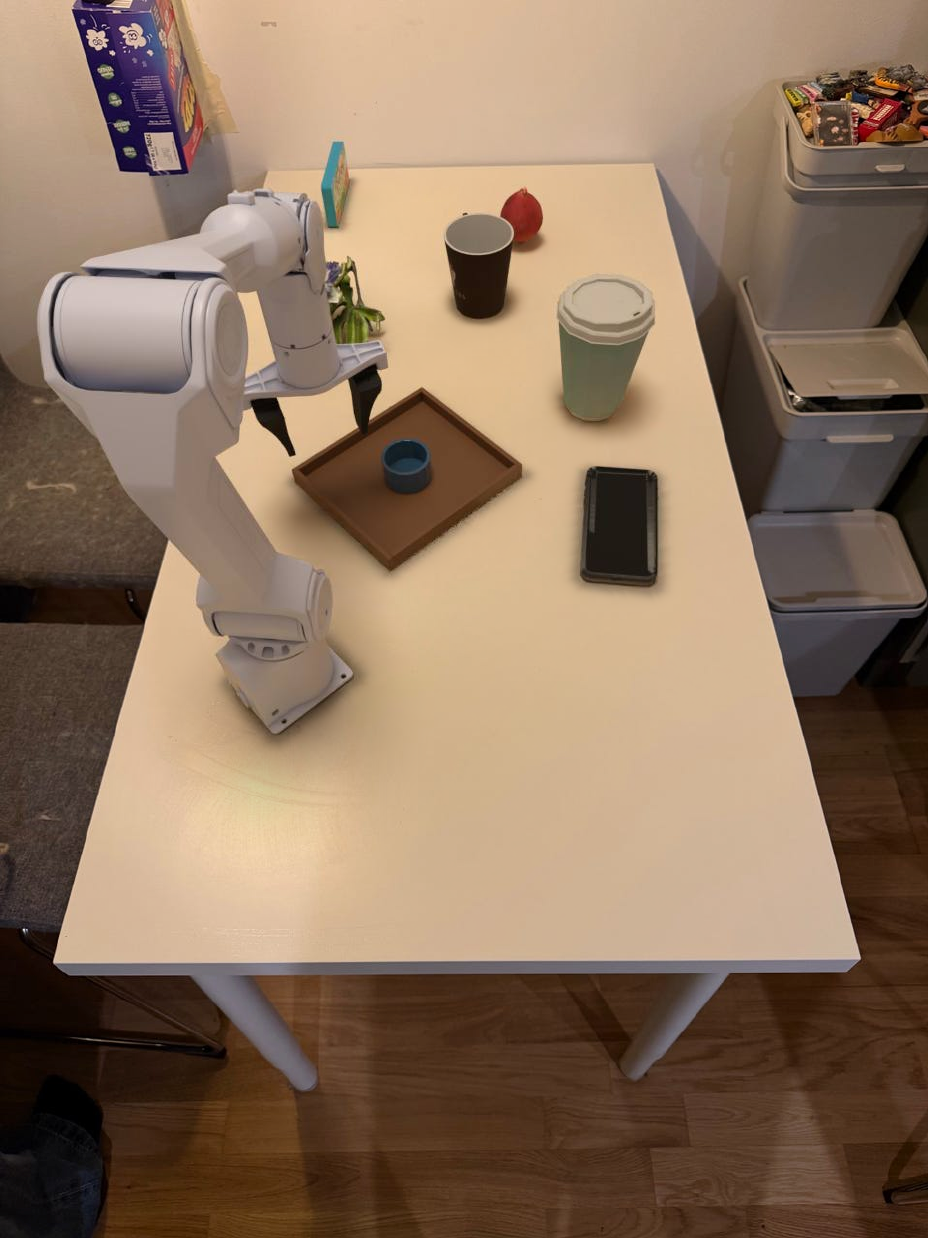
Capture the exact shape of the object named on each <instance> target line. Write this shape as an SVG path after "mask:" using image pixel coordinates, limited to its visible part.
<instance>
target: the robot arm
mask: <svg viewBox="0 0 928 1238" xmlns="http://www.w3.org/2000/svg"><path fill="white" fill-rule="evenodd" d="M226 198H227V204H226V205H223V206H219V207H218V208H216V209H215V210H213V211H211V212H210V213H209V214H208V216H207V217H205V219H204V221H203V222H202V225H201V227H200V229H199V233H196V234H192V235H187V236H183V237H178V238H174V239H170V240H165V241H161V242H157V243H152V244H147V245H143V246H139V247H135V248H131V249H126V250H121V251H117V252H113V253H109V254H104V255H100V256H95V257H91V258H89V259H87V260H86V261H85V262H83V263H82V264H81V265H80V266H79V267H80V269H81V270H83V271H84V272H86V273H87V274H88V275H83V274H80V273H77V272H75V271H62V272H58V273H56V274H55V275H53V276H52V277H51V278H50V279H49V281H48V282H47V283H46V285H45V286H44V287H45V288H44V289H43V292H42V294H41V297H40V300H39V303H38V307H37V313H36V314H37V315H36V328H37V329H36V330H37V337H38V343H39V350H40V351H39V352H40V361H41V367H42V370H43V379H44V382H45V383H46V384H47V385H48V386H49V387H50V388H51V390H53V392H54V393H55V394H56V395H57V397H58V398H60V399H61V401H62V402H63V404H65V406H66V407H67V408H68V409H69V410H70V411H71V412H72V414H74V416H75V417H76V418H77V419H78V420H79V421H80V422H81V424H82V425H83V427H85V428H86V429H87V431H88V432H89V433H90V434H91V435H92V436H93V437H95V438H96V439H97V440H98V442H99V444H100V446H101V449H102V451H103V452H104V455H105V456H106V458H107V461H108V462H109V464H110V466H111V468H112V470H113V472H114V474H115V476H116V477H117V479H118V482H119V483H120V485H121V487H122V488H123V490H124V491H125V493H126V494H127V495H128V497H129V498H130V499H131V500H132V501H133V502H134V503H135V505H137V507H138V508H139V509H140V510H141V511H142V512H143V514H144V515H146V517H147V518H148V519H149V520H150V521H151V522H152V523H153V524H154V525H155V526H156V527H157V529H159V531H161V533H162V534H163V535H164V536H165V537H166V539H168V540H169V541H170V543H171V544H172V545H173V546H174V547H175V548H176V549H177V550H178V551H179V552H180V554H181V555H182V556H183V557H184V558H185V559H186V560H187V561H188V562H189V564H191V566H192V567H193V568H194V569H195V570H196V571H197V572H198V573H199V578H198V583H197V588H196V596H195V602H196V604H195V606H196V607H197V608H198V609H199V610H200V611H201V614H202V618H203V621H204V624H205V626H206V627H207V629H208V631H209V633H210V634H211V635H212V636H215V637H220V638H221V637H222V638H223V637H226V636H227V637H228V639H229V640H228V641H227V642H226V643H225V644H224V645H223V646H222V647H221V648H219V649H218V651H217V652H215V657H216V659H217V661H218V662H219V664H220V666H221V668H222V669H223V672H224V673H225V675H226V676H227V678H228V682H229V684H230V686H231V687H232V688H233V689H234V690H235V692H236V695H237V697H238V698H239V700H240V701H241V702H242V703H243V705H244V706H245V707H246V708H250V709H251V710H252V712H253V713H254V714H255V715H256V717H258V718H259V720H260V721H261V722H262V723H263V724H264V725H265V727H266V728H267V729H268V731H270V733H272V734H273V735H278V734H280V733H281V732H283V731H284V730H285V729H286V728H288V727H289V726H290V725H292V724H293V723H294V722H296V721H297V720H298V719H300V718H301V717H303V716H304V715H305V714H307V712H309V711H310V710H312V709H313V708H315V706H317V705H319V703H321V702H322V701H323V700H325V699H326V698H327V697H329V696H330V695H331V694H333V693H334V692H335V691H337V690H338V689H340V687H341V686H343V685H344V684H345V683H347V682H348V681H350V680H351V679H353V677H354V672H353V670H352V669H351V668H350V666H349V665H347V663H345V661H344V660H343V659H342V658H341V657H340V656H339V655H338V654H337V652H335V651H334V650H333V649H332V648H331V646H330V645H329V643H328V642H327V638H326V635H327V633H328V631H329V628H330V625H331V620H332V616H333V615H332V614H333V600H334V599H333V586H332V582H331V580H330V577H329V576H328V575H327V574H326V572H325V571H324V570H323V569H316V568H315V566H314V565H313V564H312V563H310V562H307V561H304V560H301V559H298V558H295V557H292V556H289V555H286V554H283V553H281V552H278V551H277V550H276V549H275V547H274V545H273V544H272V543H271V540H269V538H268V536H267V534H266V532H264V530H263V528H262V527H261V525H260V524H259V523H258V521H257V520H256V518H255V516H254V514H253V513H252V512H251V510H250V508H249V507H248V506H247V504H246V502H245V501H244V499H243V498H242V496H241V494H240V493H239V492H238V490H237V488H236V487H235V486H234V484H233V482H232V480H231V479H230V478H229V476H228V475H227V473H226V472H225V470H224V469H223V467H222V465H221V464H220V462H219V460H218V459H217V456H219V455H221V454H222V453H224V452H225V451H227V450H229V449H231V448H232V447H234V446H235V445H237V444H238V443H239V441H240V430H241V429H240V428H241V424H242V422H243V417H244V412H245V411H248V410H251V409H252V411H253V414H254V417H255V418H256V421H257V422H258V424H259V425H260V426H261V427H262V428H264V429H266V431H268V432H269V433H271V434H272V435H273V436H274V437H276V439H277V440H278V441H279V442H280V444H281V445H282V447H283V448H284V449H285V451H286V452H287V455H288V457H289V458H292V457H295V456H297V453H296V449H295V447H294V444H293V442H292V439H291V437H290V435H289V430H288V425H287V423H286V417H285V415H284V413H283V411H282V408H281V405H280V402H279V399H278V398H293V397H294V398H295V397H297V398H298V397H313V396H318V395H321V394H324V393H327V392H329V391H331V390H332V389H334V388H335V387H338V386H339V385H340V384H342V383H344V382H346V381H347V382H348V386H349V390H350V394H351V403H352V404H351V405H352V412H353V417H354V421H355V423H356V426H357V428H359V430H360V432H361V434H362V435H363V434H366V433H368V425H369V420H370V419H371V413H372V410H373V407H374V404H375V402H376V400H377V398H378V397H379V395H380V394H381V392H382V390H383V381H382V377H381V376H380V374H379V371H383V370H387V369H389V361H388V354H387V350H386V348H385V347H384V345H383V343H382V341H381V340H380V339H377V340H373V341H367V343H355V344H345V343H343V344H336V340H335V334H334V329H333V324H332V320H333V319H332V317H331V314H330V309H329V304H328V299H327V294H326V288H325V283H324V280H325V277H326V273H327V269H326V263H327V260H326V253H325V231H324V229H325V228H324V219H323V212H322V210H321V208H320V207H321V206H320V204H319V203H318V201H317V200H311V199H310V198H309V197H308V194H307V193H305V192H286V191H285V192H283V191H282V192H281V191H280V192H279V191H274V190H273V189H272V188H255V189H253V191H252V190H251V191H250V190H249V191H248V190H246V191H243V192H239V191H238V190H237V189H234V190H233V191H232V192H230V193H228V194H227V197H226ZM254 292H256V295H257V298H258V302H259V306H260V309H261V312H262V317H263V320H264V323H265V327H266V330H267V331H266V332H267V335H268V338H269V342H270V346H271V349H272V354H273V357H274V360H273V361H271V362H270V363H268V364H266V365H264V366H262V368H260V369H258V370H256V371H254V372H253V373H251V374H249V375H247V376H246V372H247V371H246V370H247V366H248V359H249V333H248V332H249V331H248V324H247V318H246V314H245V310H244V307H243V304H242V302H241V299H240V297H239V293H240V294H250V293H254ZM343 677H344V678H343ZM284 721H285V722H284ZM283 722H284V723H283Z"/></svg>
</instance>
